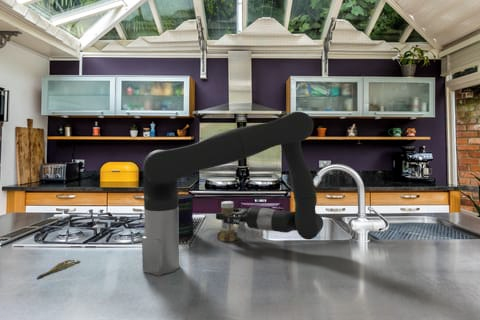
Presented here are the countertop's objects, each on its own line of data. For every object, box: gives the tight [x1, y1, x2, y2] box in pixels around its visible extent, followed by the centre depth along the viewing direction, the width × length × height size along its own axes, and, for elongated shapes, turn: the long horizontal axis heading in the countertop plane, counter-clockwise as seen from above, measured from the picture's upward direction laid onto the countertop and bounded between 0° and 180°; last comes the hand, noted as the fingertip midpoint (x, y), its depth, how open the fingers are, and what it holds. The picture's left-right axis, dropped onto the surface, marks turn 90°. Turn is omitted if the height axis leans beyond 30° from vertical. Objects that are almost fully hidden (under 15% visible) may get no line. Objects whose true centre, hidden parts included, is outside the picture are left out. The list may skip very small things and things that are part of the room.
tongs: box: [36, 259, 81, 280], centre depth 85 cm, size 4×13×2 cm, turn 168°
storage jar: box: [178, 193, 195, 240], centre depth 115 cm, size 10×10×15 cm
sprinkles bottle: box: [221, 200, 235, 236], centre depth 112 cm, size 5×5×13 cm
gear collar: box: [216, 228, 238, 242], centre depth 112 cm, size 7×7×2 cm
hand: (222, 213), depth 112 cm, fingers open, 8 cm apart
